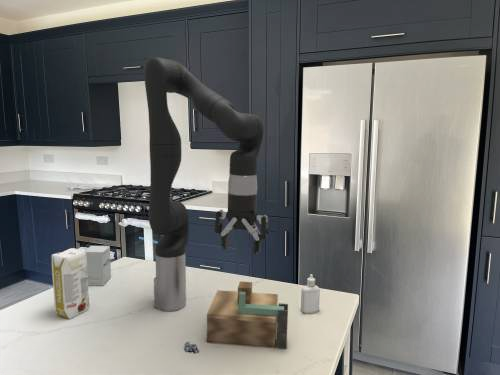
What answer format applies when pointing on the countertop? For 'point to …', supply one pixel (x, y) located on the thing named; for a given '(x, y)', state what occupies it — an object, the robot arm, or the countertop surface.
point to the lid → (229, 301)
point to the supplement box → (98, 265)
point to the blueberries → (191, 348)
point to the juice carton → (70, 282)
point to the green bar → (256, 308)
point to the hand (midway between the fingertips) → (240, 250)
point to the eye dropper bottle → (310, 296)
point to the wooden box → (250, 331)
